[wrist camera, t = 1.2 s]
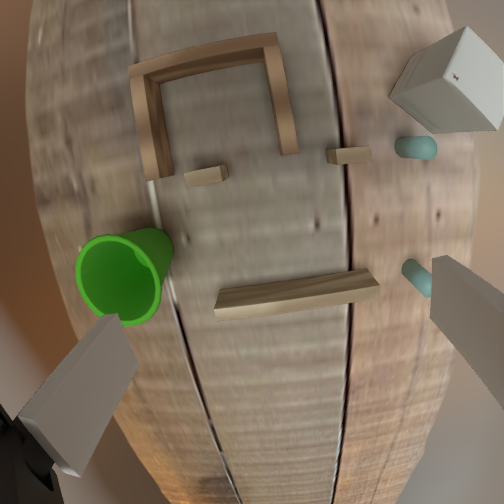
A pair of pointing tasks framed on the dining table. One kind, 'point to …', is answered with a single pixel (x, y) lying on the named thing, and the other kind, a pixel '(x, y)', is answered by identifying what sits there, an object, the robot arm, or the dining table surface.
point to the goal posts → (425, 150)
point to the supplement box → (453, 85)
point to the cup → (124, 273)
